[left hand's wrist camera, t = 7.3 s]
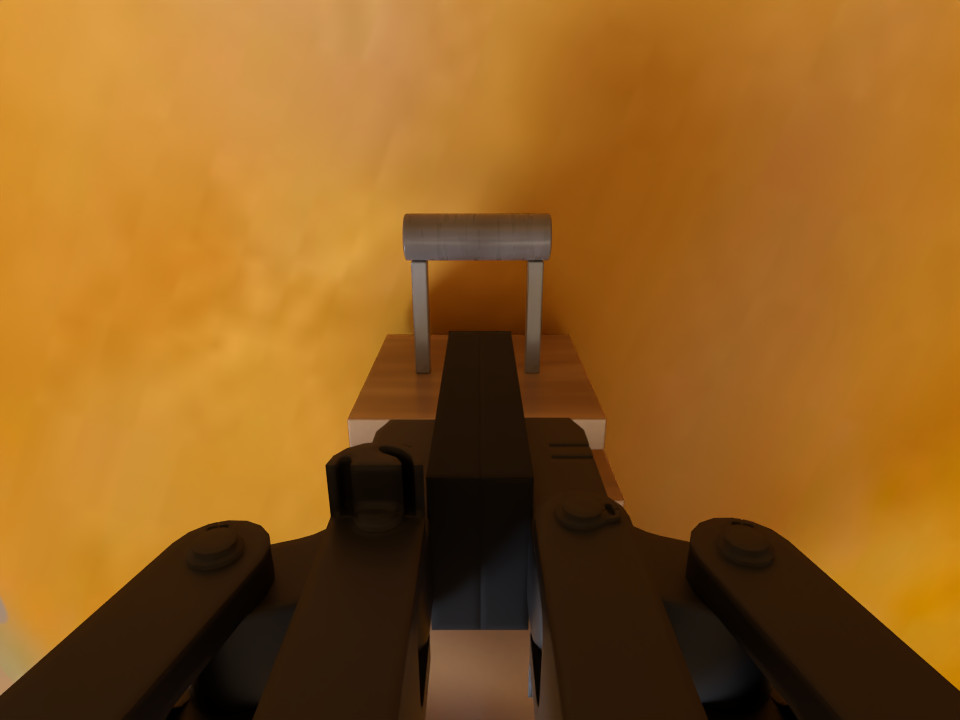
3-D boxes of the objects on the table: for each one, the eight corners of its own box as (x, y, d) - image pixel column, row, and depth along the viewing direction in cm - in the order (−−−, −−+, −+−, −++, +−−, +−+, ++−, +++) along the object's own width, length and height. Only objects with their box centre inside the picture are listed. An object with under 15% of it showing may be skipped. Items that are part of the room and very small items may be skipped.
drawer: (379, 200, 26) (330, 231, 18) (576, 200, 26) (622, 231, 18) (404, 639, 35) (380, 801, 27) (552, 639, 35) (575, 801, 27)
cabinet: (380, 376, 30) (329, 500, 20) (575, 376, 30) (625, 500, 20) (399, 673, 38) (369, 878, 27) (557, 673, 38) (586, 878, 27)
